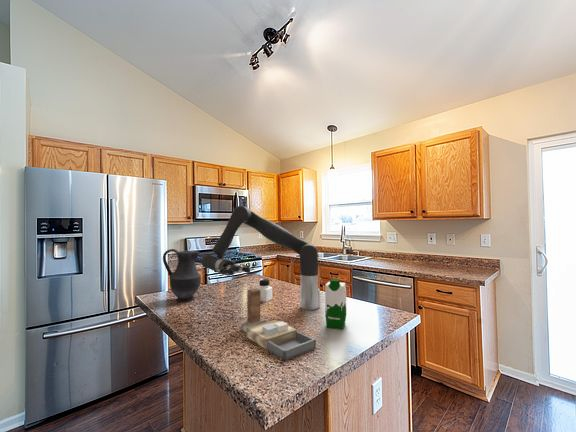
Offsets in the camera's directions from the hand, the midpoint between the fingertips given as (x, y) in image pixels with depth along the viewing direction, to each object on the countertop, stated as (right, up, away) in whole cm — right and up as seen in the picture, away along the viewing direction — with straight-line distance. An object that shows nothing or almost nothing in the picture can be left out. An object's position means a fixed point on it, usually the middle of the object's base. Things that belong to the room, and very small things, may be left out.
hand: (241, 271), depth 123 cm
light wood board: (+15, -22, -19) cm, 32 cm away
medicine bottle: (+7, -24, +34) cm, 42 cm away
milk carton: (+42, -22, -7) cm, 48 cm away
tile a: (+18, -18, -19) cm, 32 cm away
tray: (+23, -21, -29) cm, 42 cm away
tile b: (+14, -18, -23) cm, 32 cm away
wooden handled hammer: (+7, -22, -9) cm, 25 cm away
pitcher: (-40, -24, +34) cm, 58 cm away
